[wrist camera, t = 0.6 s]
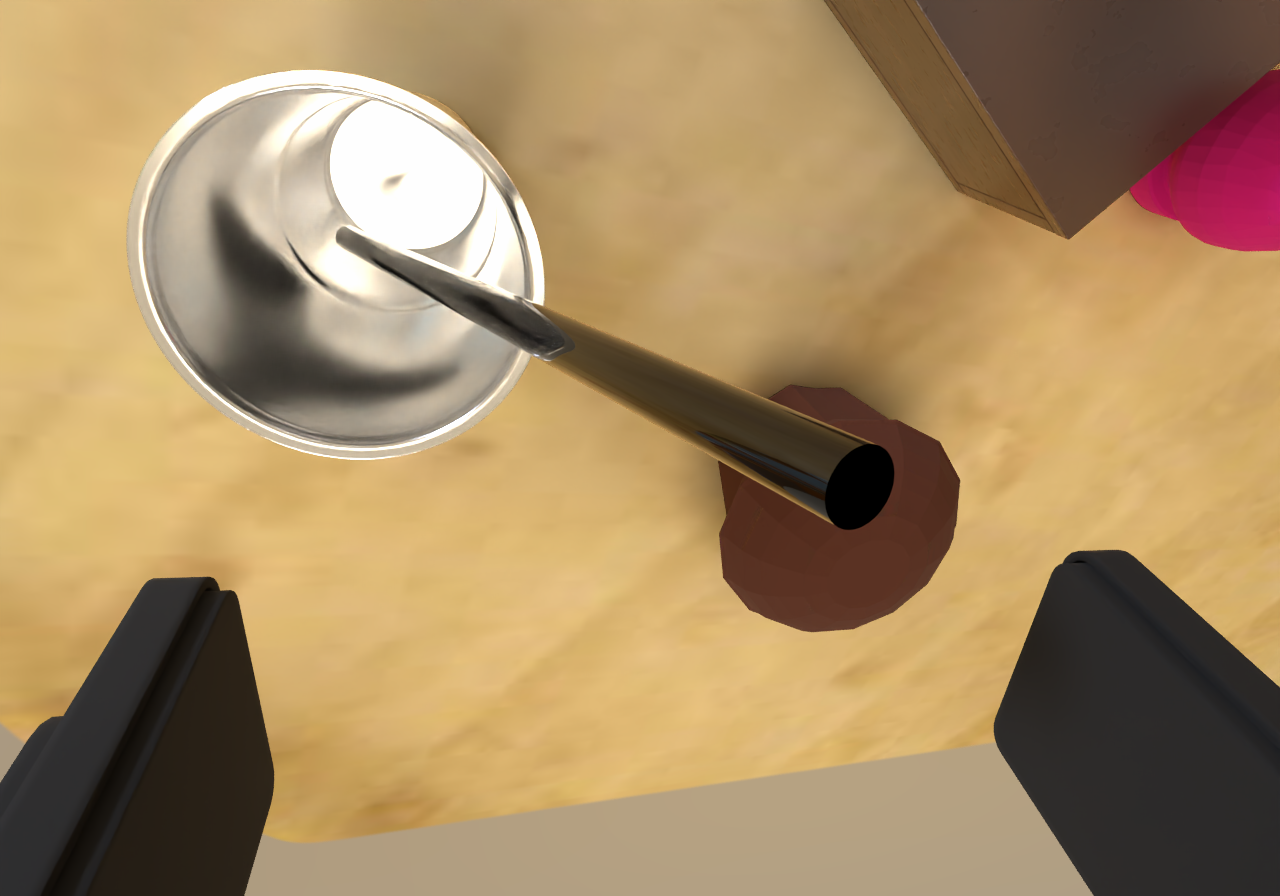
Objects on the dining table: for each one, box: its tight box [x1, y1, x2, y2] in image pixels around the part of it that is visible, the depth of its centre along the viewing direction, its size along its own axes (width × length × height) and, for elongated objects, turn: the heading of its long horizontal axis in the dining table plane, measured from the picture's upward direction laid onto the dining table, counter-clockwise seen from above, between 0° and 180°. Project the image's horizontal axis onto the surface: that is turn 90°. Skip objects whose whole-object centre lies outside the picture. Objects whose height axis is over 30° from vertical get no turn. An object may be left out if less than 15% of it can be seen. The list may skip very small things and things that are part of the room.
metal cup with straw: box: [127, 69, 895, 530], centre depth 21 cm, size 11×11×30 cm
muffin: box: [718, 385, 960, 632], centre depth 39 cm, size 12×11×10 cm
